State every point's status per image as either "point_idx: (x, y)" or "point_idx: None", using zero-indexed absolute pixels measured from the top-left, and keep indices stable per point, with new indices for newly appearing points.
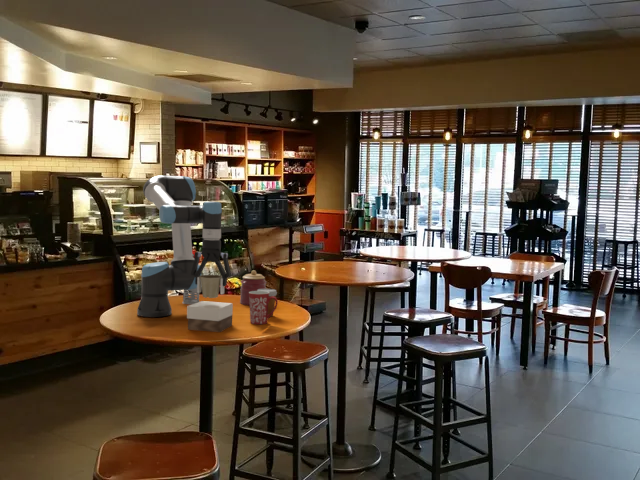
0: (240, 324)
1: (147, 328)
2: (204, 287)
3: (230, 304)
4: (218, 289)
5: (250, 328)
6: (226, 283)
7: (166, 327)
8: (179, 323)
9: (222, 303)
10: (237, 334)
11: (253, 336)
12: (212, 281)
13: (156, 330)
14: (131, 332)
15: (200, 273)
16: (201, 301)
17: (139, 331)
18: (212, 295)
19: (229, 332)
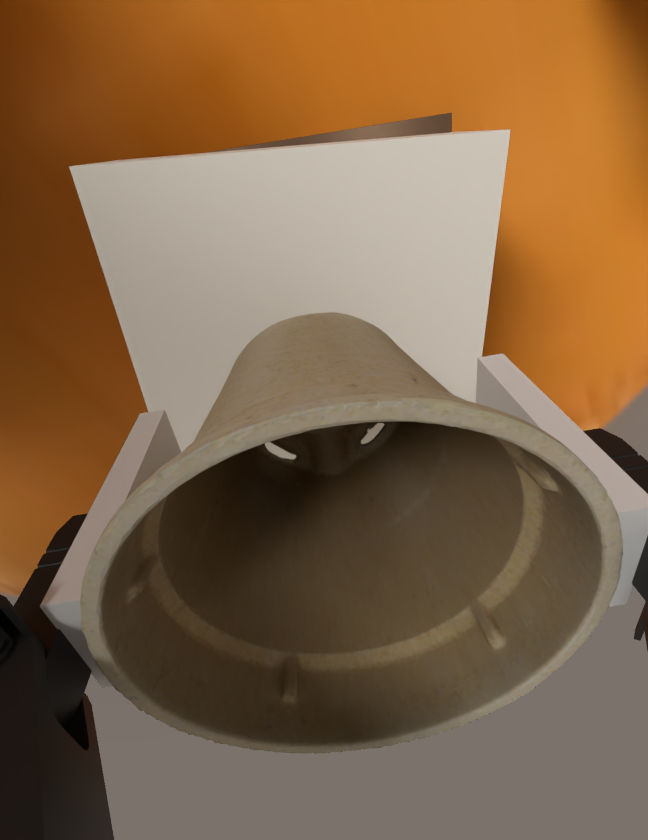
0: (482, 37)
1: (5, 485)
2: (302, 573)
3: (498, 206)
4: (454, 440)
5: (596, 167)
6: (634, 457)
7: (66, 420)
8: (23, 275)
9: (394, 211)
10: (542, 378)
11: (640, 378)
12: (447, 648)
13: (89, 497)
14: (31, 572)
15: (49, 704)
16: (95, 218)
17: (41, 546)
18: (385, 468)
19: (482, 356)
